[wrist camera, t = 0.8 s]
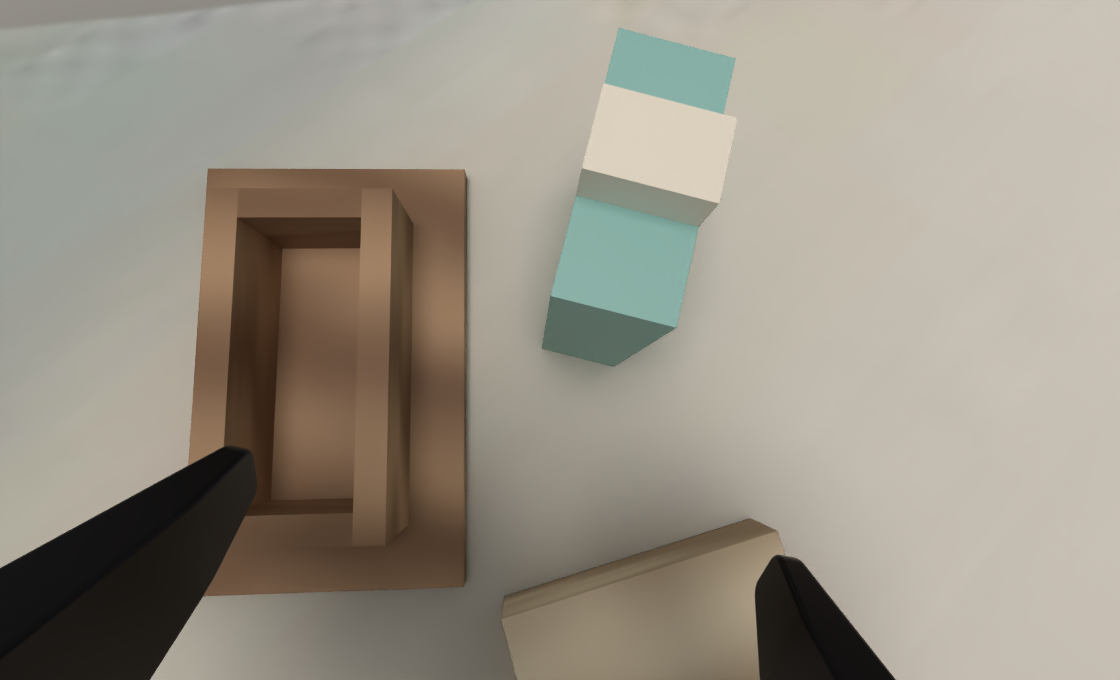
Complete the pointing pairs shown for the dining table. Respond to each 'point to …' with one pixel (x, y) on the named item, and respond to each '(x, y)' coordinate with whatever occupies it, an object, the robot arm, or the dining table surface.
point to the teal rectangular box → (641, 198)
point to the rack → (337, 374)
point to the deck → (648, 613)
